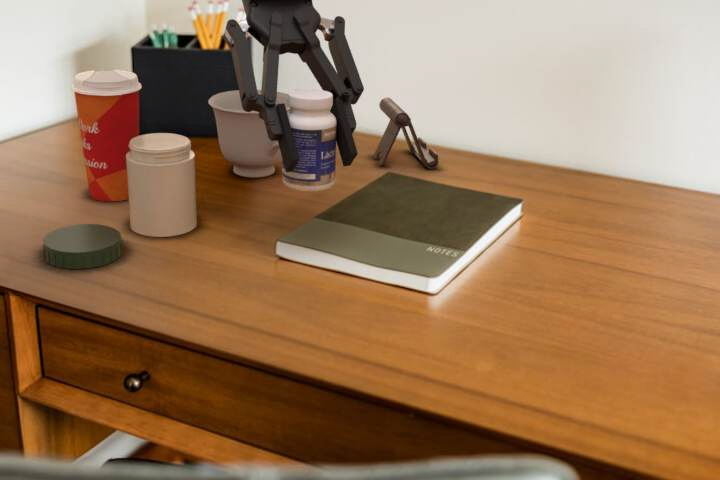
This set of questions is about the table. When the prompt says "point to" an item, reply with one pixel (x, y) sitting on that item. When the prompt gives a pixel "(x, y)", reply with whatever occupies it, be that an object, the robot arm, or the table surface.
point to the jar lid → (82, 246)
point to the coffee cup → (107, 128)
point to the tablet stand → (395, 124)
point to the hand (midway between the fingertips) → (321, 162)
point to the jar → (161, 185)
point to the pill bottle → (312, 140)
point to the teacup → (245, 135)
